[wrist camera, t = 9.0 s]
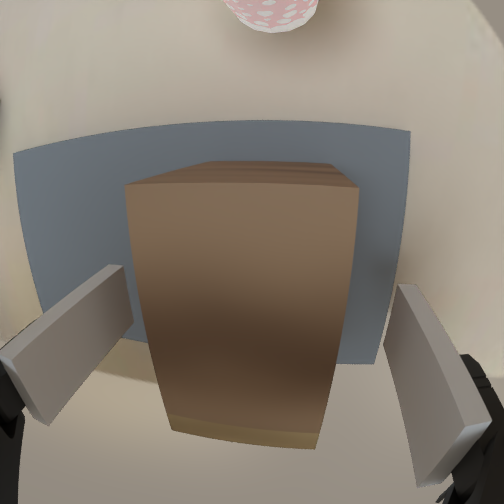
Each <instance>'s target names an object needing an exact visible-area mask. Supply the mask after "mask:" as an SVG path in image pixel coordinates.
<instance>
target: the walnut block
mask: <svg viewBox="0 0 504 504" xmlns="http://www.w3.org/2000/svg"><path fill="white" fill-rule="evenodd" d="M124 186H125V198H126V209H127V218H128V227H129V236H130V243H131V251H132V258H133V265H134V271H135V277H136V283H137V289H138V295H139V300H140V306H141V311H142V316H143V321H144V326H145V331H146V335H147V340H148V344H149V349H150V353H151V357H152V361H153V365H154V369H155V373H156V377H157V381H158V385H159V388H160V392H161V396H162V399H163V403H164V406H165V409H166V413H167V416H168V419H169V423H170V426H171V429H172V430H174V431H178V432H183V433H187V434H192V435H197V436H202V437H207V438H212V439H218V440H225V441H230V442H237V443H245V444H252V445H261V446H271V447H282V448H298V449H315V448H316V444H317V440H318V437H319V433H320V429H321V426H322V422H323V418H324V414H325V410H326V406H327V402H328V398H329V393H330V388H331V384H332V380H333V375H334V371H335V366H336V361H337V356H338V351H339V346H340V340H341V335H342V329H343V324H344V318H345V312H346V305H347V299H348V292H349V285H350V278H351V270H352V262H353V254H354V245H355V236H356V225H357V214H358V202H359V187H358V186H357V185H355V184H354V183H353V182H352V181H351V180H350V179H348V178H347V177H346V176H345V175H344V174H342V173H341V172H340V171H339V170H338V169H336V168H335V167H334V166H333V165H332V164H327V163H308V162H281V161H209V162H205V163H201V164H197V165H193V166H189V167H185V168H181V169H177V170H174V171H170V172H166V173H163V174H159V175H156V176H152V177H149V178H145V179H142V180H138V181H135V182H132V183H129V184H125V185H124Z"/></svg>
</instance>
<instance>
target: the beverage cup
mask: <svg viewBox="0 0 504 504" xmlns="http://www.w3.org/2000/svg"><path fill="white" fill-rule="evenodd" d="M223 1H224V2H225V3H226V4H227V5H228V7H229V8H230V9H231V10H232V11H233V13H234V14H235V15H236V16H237V17H238V19H239V20H240V21H241V22H242V23H244V24H246V25H247V26H249V27H251V28H253V29H254V30H258V31H264V32H269V33H277V32H286V31H291V30H293V29H295V28H297V27H299V26H302V25H304V24H305V23H306V22H307V21H308V20H309V19H310V18H311V17H312V16H313V15H314V14H315V11H316V7H317V4H318V0H223Z"/></svg>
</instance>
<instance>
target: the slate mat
mask: <svg viewBox="0 0 504 504" xmlns="http://www.w3.org/2000/svg"><path fill="white" fill-rule="evenodd" d="M409 156H410V131H405V130H398V129H391V128H383V127H374V126H365V125H355V124H343V123H330V122H312V121H283V120H245V121H215V122H197V123H184V124H172V125H162V126H152V127H144V128H136V129H129V130H121V131H115V132H108V133H102V134H96V135H91V136H85V137H80V138H75V139H70V140H65V141H61V142H56V143H52V144H48V145H43V146H39V147H35V148H31V149H27V150H24V151H20V152H16V153H13V159H14V172H15V183H16V192H17V200H18V207H19V214H20V220H21V226H22V231H23V237H24V242H25V246H26V251H27V256H28V260H29V264H30V268H31V272H32V276H33V280H34V284H35V287H36V291H37V294H38V298H39V301H40V304H41V307H42V310H43V314H44V313H45V312H46V311H48V310H49V309H50V308H51V307H53V306H54V305H55V304H57V303H58V302H59V301H60V300H62V299H63V298H64V297H66V296H67V295H68V294H69V293H71V292H72V291H73V290H75V289H76V288H77V287H79V286H80V285H81V284H83V283H84V282H85V281H87V280H88V279H89V278H91V277H92V276H93V275H95V274H96V273H98V272H99V271H100V270H102V269H103V268H104V267H106V266H107V265H109V264H112V265H123V266H124V272H125V278H126V283H127V289H128V294H129V299H130V304H131V309H132V314H133V319H134V323H133V324H132V325H131V326H130V328H129V329H128V330H127V331H126V332H125V333H124V335H123V336H122V337H121V338H126V339H131V340H136V341H141V342H146V343H148V340H147V335H146V331H145V326H144V321H143V316H142V311H141V306H140V300H139V295H138V289H137V283H136V277H135V271H134V265H133V258H132V251H131V243H130V236H129V227H128V218H127V209H126V198H125V186H124V185H125V184H129V183H132V182H135V181H138V180H142V179H145V178H149V177H152V176H156V175H159V174H163V173H166V172H170V171H174V170H177V169H181V168H185V167H189V166H193V165H197V164H201V163H205V162H209V161H281V162H308V163H327V164H332V165H333V166H334V167H335V168H336V169H338V170H339V171H340V172H341V173H342V174H344V175H345V176H346V177H347V178H348V179H350V180H351V181H352V182H353V183H354V184H355V185H357V186H358V187H359V202H358V214H357V225H356V236H355V245H354V254H353V262H352V270H351V278H350V285H349V292H348V299H347V305H346V312H345V318H344V324H343V329H342V335H341V340H340V346H339V351H338V356H337V361H336V364H374V362H375V358H376V355H377V351H378V348H379V344H380V340H381V336H382V333H383V329H384V325H385V321H386V316H387V312H388V308H389V303H390V299H391V294H392V289H393V284H394V279H395V274H396V268H397V262H398V257H399V250H400V244H401V237H402V230H403V223H404V215H405V206H406V196H407V185H408V173H409Z"/></svg>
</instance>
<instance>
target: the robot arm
mask: <svg viewBox="0 0 504 504" xmlns="http://www.w3.org/2000/svg"><path fill="white" fill-rule="evenodd" d="M133 323H134V319H133V314H132V309H131V304H130V299H129V294H128V289H127V283H126V278H125V272H124V266H123V265H112V264H109V265H107V266H106V267H104V268H103V269H102V270H100V271H99V272H98V273H96V274H95V275H93V276H92V277H91V278H89V279H88V280H87V281H85V282H84V283H83V284H81V285H80V286H79V287H77V288H76V289H75V290H73V291H72V292H71V293H69V294H68V295H67V296H66V297H64V298H63V299H62V300H60V301H59V302H58V303H57V304H55V305H54V306H53V307H51V308H50V309H49V310H48V311H46V312H45V313H44V314H43V315H41V316H40V317H39V318H38V319H36V320H34V321H33V322H32V323H30V324H29V325H28V326H27V327H26V328H25V329H23V330H22V331H21V332H20V333H18V335H16V336H15V337H14V338H12V339H11V340H10V341H9V342H8V343H7V344H5V345H4V346H3V347H2V348H1V349H0V504H18V481H19V480H18V479H19V465H20V455H21V446H22V438H23V431H24V424H25V416H24V414H23V413H22V409H23V408H24V407H25V406H26V407H27V409H28V410H29V412H30V413H31V415H32V416H33V418H34V419H36V420H38V421H40V422H41V423H43V424H45V425H47V426H49V425H50V423H51V422H52V421H53V420H54V419H55V417H56V416H57V415H58V413H59V412H60V411H61V410H62V408H63V407H64V406H65V405H66V403H67V402H68V401H69V400H70V398H71V397H72V396H73V394H74V393H75V392H76V391H77V390H78V388H79V387H80V386H81V385H82V384H83V382H84V381H85V380H86V379H87V377H88V376H89V375H90V374H91V372H92V371H93V370H94V369H95V368H96V367H97V365H98V364H99V363H100V362H101V361H102V359H103V358H104V357H105V356H106V355H107V353H108V352H109V351H110V350H111V349H112V347H113V346H114V345H115V344H116V343H117V342H118V340H119V339H120V338H121V337H122V336H123V335H124V333H125V332H126V331H127V330H128V329H129V328H130V326H131V325H132V324H133ZM383 346H384V349H385V352H386V355H387V359H388V363H389V366H390V369H391V373H392V377H393V380H394V384H395V388H396V392H397V395H398V399H399V403H400V407H401V411H402V416H403V420H404V424H405V428H406V433H407V438H408V442H409V446H410V452H411V457H412V462H413V468H414V473H415V479H416V485H417V488H419V487H425V486H430V485H435V484H440V483H442V482H443V481H444V480H445V479H446V478H447V477H448V475H449V474H450V473H452V477H453V481H454V482H453V484H452V485H451V486H450V487H449V488H448V489H447V490H446V491H444V493H442V494H441V495H440V496H439V498H438V499H437V501H436V503H439V502H440V501H441V500H443V499H444V501H443V503H442V504H504V408H503V406H502V404H501V402H500V400H499V398H498V396H497V394H496V393H495V391H494V389H493V387H492V388H491V384H490V382H489V380H488V378H486V374H485V373H484V371H483V369H482V367H481V366H480V364H479V363H478V362H477V361H476V360H475V359H473V358H472V357H471V356H470V355H469V354H463V355H459V354H458V352H457V350H456V348H455V346H454V345H453V343H452V341H451V340H450V338H449V336H448V334H447V333H446V331H445V329H444V328H443V326H442V324H441V323H440V321H439V319H438V318H437V316H436V315H435V313H434V311H433V310H432V308H431V307H430V305H429V304H428V302H427V300H426V299H425V297H424V296H423V294H422V293H421V291H420V290H419V288H418V287H417V285H416V284H398V285H397V289H396V294H395V299H394V303H393V308H392V312H391V316H390V320H389V324H388V328H387V332H386V336H385V340H384V343H383Z"/></svg>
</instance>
